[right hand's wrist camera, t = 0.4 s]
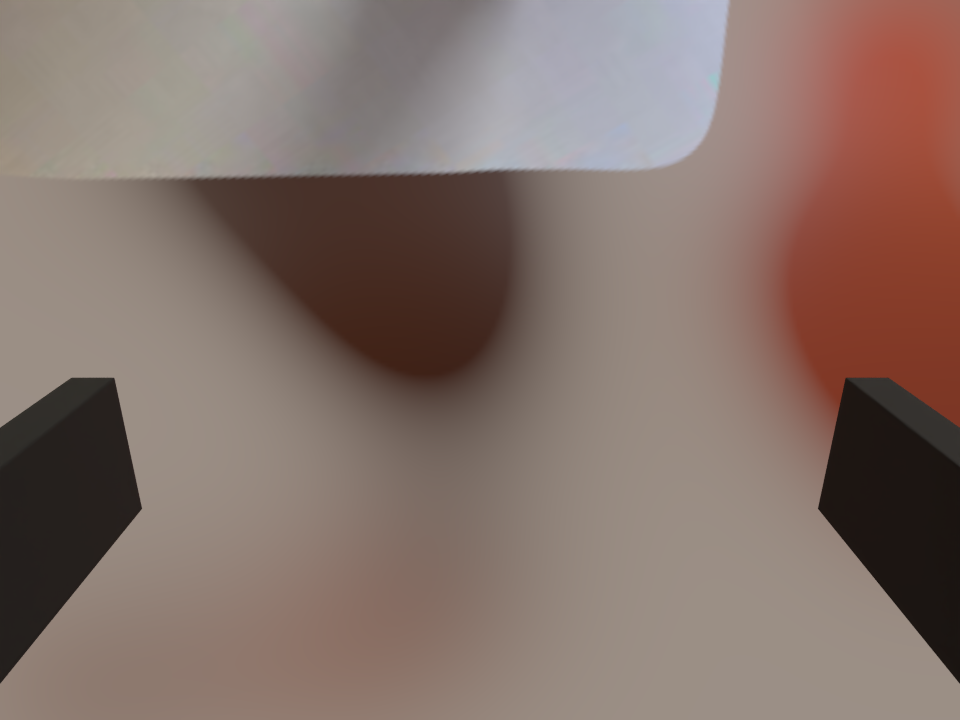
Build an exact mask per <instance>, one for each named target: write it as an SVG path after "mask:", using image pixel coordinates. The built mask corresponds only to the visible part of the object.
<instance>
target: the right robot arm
mask: <svg viewBox="0 0 960 720" xmlns="http://www.w3.org/2000/svg"><path fill="white" fill-rule="evenodd" d="M141 509H142V507H141V502H140V497H139V493H138V488H137V483H136V479H135V474H134V469H133V464H132V460H131V455H130V450H129V445H128V440H127V436H126V431H125V426H124V422H123V417H122V412H121V408H120V403H119V398H118V393H117V388H116V384H115V379H114V378H71V379H69V380H68V381H66V382H65V383H63V384H62V385H61V386H59V387H58V388H56V389H55V390H53V391H52V392H51V393H49V394H48V395H46V396H45V397H43V398H42V399H41V400H39V401H38V402H36V403H35V404H33V405H32V406H31V407H29V408H28V409H26V410H25V411H23V412H22V413H21V414H19V415H18V416H16V417H15V418H13V419H12V420H11V421H9V422H8V423H6V424H5V425H4V426H2V427H1V428H0V683H1V682H2V681H3V679H4V678H5V677H6V676H7V675H8V673H9V672H10V671H11V670H12V668H13V667H14V666H15V665H16V663H17V662H18V661H19V660H20V658H21V657H22V656H23V655H24V654H25V652H26V651H27V650H28V649H29V647H30V646H31V645H32V644H33V642H34V641H35V640H36V639H37V638H38V636H39V635H40V634H41V633H42V631H43V630H44V629H45V628H46V626H47V625H48V624H49V623H50V621H51V620H52V619H53V618H54V617H55V615H56V614H57V613H58V612H59V610H60V609H61V608H62V607H63V605H64V604H65V603H66V602H67V600H68V599H69V598H70V597H71V596H72V594H73V593H74V592H75V591H76V589H77V588H78V587H79V586H80V584H81V583H82V582H83V581H84V579H85V578H86V577H87V576H88V575H89V573H90V572H91V571H92V570H93V568H94V567H95V566H96V565H97V563H98V562H99V561H100V560H101V558H102V557H103V556H104V555H105V554H106V552H107V551H108V550H109V549H110V547H111V546H112V545H113V544H114V542H115V541H116V540H117V539H118V538H119V536H120V535H121V534H122V533H123V531H124V530H125V529H126V528H127V526H128V525H129V524H130V523H131V522H132V520H133V519H134V518H135V517H136V515H137V514H138V513H139V512H140V510H141ZM818 509H819V510H820V512H821V513H822V514H823V515H824V517H825V518H826V519H827V520H828V522H829V523H830V524H831V525H832V527H833V528H834V529H835V530H836V531H837V533H838V534H839V535H840V536H841V538H842V539H843V540H844V541H845V543H846V544H847V545H848V546H849V547H850V549H851V550H852V551H853V552H854V554H855V555H856V556H857V557H858V559H859V560H860V561H861V562H862V564H863V565H864V566H865V567H866V568H867V570H868V571H869V572H870V573H871V575H872V576H873V577H874V578H875V580H876V581H877V582H878V583H879V584H880V586H881V587H882V588H883V589H884V591H885V592H886V593H887V594H888V596H889V597H890V598H891V599H892V600H893V602H894V603H895V604H896V605H897V607H898V608H899V609H900V610H901V612H902V613H903V614H904V615H905V617H906V618H907V619H908V620H909V621H910V623H911V624H912V625H913V626H914V628H915V629H916V630H917V631H918V633H919V634H920V635H921V636H922V638H923V639H924V640H925V641H926V642H927V644H928V645H929V646H930V647H931V648H932V650H933V651H934V652H935V653H936V655H937V656H938V657H939V658H940V660H941V661H942V662H943V663H944V665H945V666H946V667H947V668H948V670H949V671H950V672H951V673H952V674H953V676H954V677H955V678H956V679H957V681H958V682H959V683H960V428H959V427H958V426H957V425H955V424H954V423H952V422H951V421H949V420H948V419H947V418H945V417H944V416H942V415H941V414H939V413H938V412H937V411H935V410H934V409H932V408H931V407H929V406H928V405H926V404H925V403H924V402H922V401H921V400H919V399H918V398H916V397H915V396H914V395H912V394H911V393H909V392H908V391H907V390H905V389H904V388H902V387H901V386H899V385H898V384H897V383H895V382H894V381H892V380H891V379H889V378H846V379H845V384H844V388H843V393H842V398H841V403H840V407H839V412H838V417H837V422H836V426H835V431H834V436H833V440H832V445H831V450H830V455H829V459H828V464H827V469H826V474H825V479H824V483H823V488H822V493H821V497H820V502H819V507H818Z"/></svg>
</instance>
